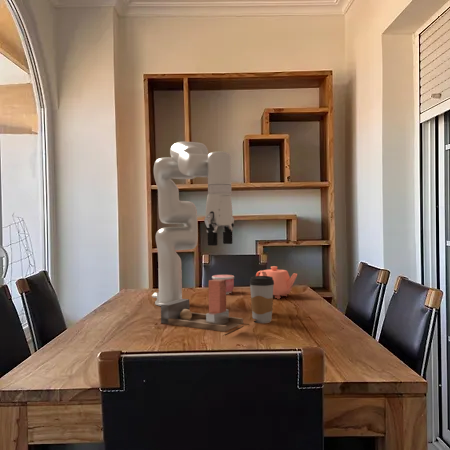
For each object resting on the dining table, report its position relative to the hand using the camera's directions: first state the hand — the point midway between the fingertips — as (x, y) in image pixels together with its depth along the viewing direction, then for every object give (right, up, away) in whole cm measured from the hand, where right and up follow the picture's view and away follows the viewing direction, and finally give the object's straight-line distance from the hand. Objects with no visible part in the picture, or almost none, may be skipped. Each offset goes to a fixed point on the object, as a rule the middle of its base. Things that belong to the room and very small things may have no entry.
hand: (220, 244), depth 144 cm
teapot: (+24, -26, +56) cm, 66 cm away
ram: (-1, -25, -1) cm, 25 cm away
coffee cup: (+14, -27, +9) cm, 32 cm away
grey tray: (-6, -27, +2) cm, 28 cm away
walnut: (-12, -26, +6) cm, 29 cm away
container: (+1, -26, +68) cm, 73 cm away
